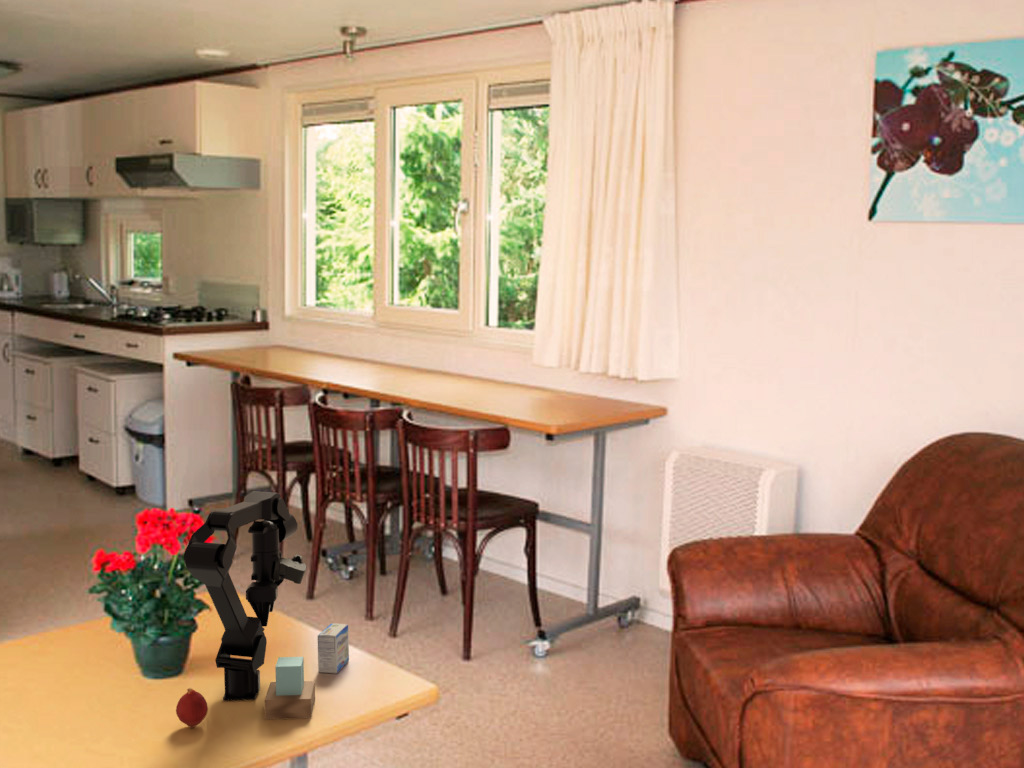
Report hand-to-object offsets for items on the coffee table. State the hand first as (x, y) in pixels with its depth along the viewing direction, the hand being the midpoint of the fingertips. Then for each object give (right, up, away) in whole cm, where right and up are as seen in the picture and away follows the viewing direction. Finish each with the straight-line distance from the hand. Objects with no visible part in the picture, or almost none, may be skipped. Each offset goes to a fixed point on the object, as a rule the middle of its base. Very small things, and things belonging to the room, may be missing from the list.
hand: (267, 618), depth 243 cm
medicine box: (+14, -12, +5) cm, 19 cm away
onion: (-9, -16, -26) cm, 32 cm away
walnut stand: (+9, -15, -18) cm, 24 cm away
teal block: (+9, -11, -18) cm, 23 cm away
